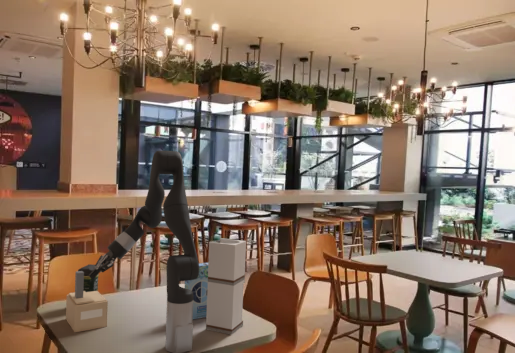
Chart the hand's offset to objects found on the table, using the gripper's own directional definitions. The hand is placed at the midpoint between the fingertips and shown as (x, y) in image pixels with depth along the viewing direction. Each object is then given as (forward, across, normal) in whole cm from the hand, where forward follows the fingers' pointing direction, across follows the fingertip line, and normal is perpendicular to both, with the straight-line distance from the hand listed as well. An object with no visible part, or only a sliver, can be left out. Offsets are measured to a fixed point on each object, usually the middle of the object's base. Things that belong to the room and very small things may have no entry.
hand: (90, 277), depth 168 cm
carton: (+14, 0, +12) cm, 18 cm away
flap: (+8, 0, +3) cm, 9 cm away
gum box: (-19, +16, +45) cm, 51 cm away
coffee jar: (+10, -19, +16) cm, 27 cm away
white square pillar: (-19, +32, +45) cm, 58 cm away
